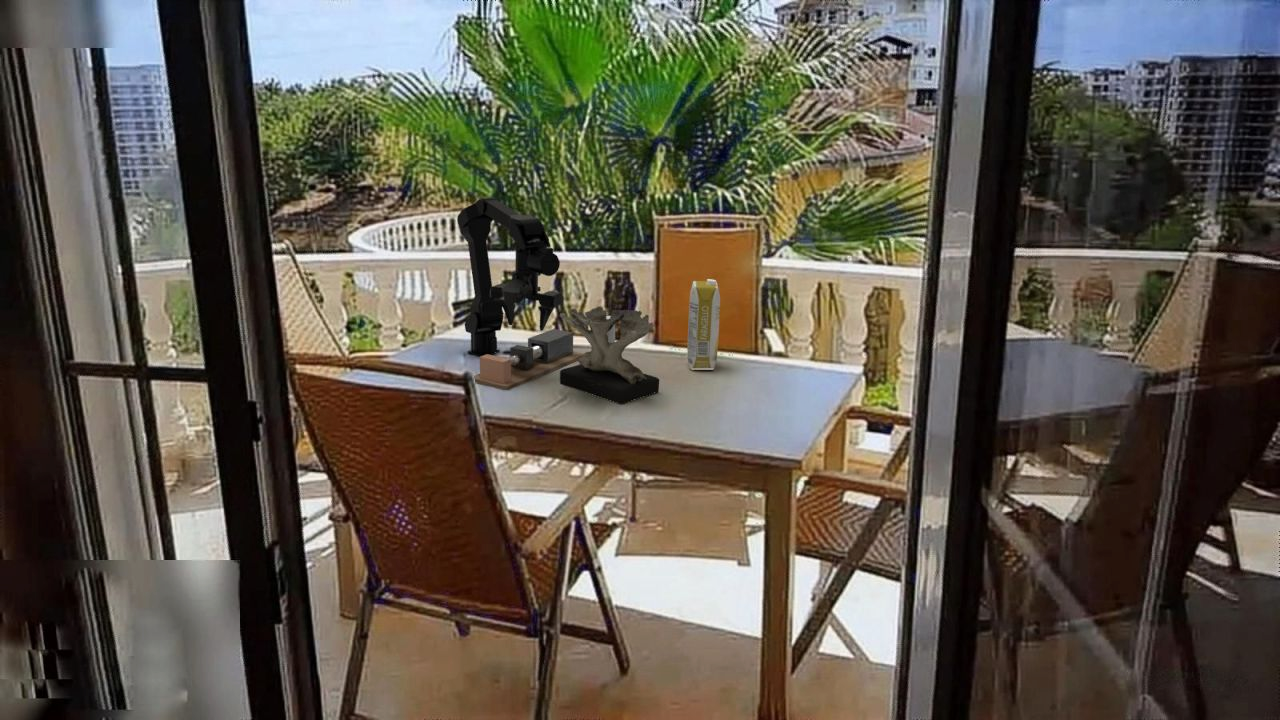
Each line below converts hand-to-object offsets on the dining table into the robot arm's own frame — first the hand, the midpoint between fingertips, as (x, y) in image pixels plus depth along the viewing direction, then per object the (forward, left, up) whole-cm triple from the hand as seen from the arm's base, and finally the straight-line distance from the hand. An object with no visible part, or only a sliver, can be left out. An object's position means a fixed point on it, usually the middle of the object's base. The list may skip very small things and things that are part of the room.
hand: (526, 327), depth 262 cm
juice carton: (+35, +31, -12) cm, 49 cm away
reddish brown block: (-1, -12, -11) cm, 16 cm away
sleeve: (-1, +12, -12) cm, 17 cm away
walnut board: (-1, +3, -12) cm, 12 cm away
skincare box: (+10, +21, -12) cm, 26 cm away
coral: (+25, -2, -12) cm, 28 cm away
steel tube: (-1, +6, -11) cm, 12 cm away
